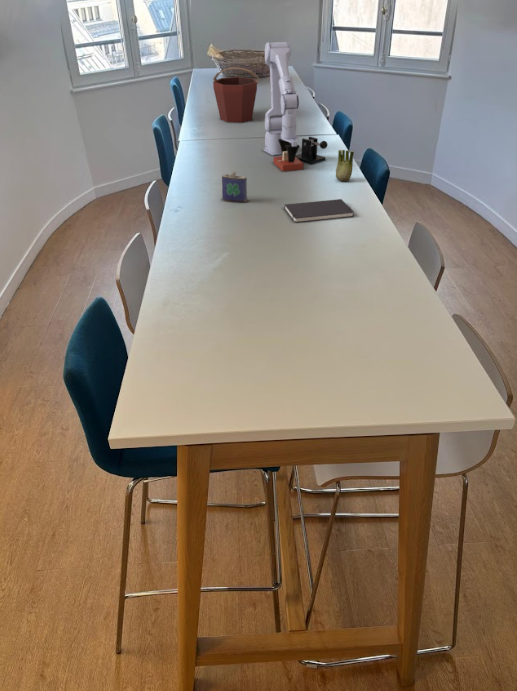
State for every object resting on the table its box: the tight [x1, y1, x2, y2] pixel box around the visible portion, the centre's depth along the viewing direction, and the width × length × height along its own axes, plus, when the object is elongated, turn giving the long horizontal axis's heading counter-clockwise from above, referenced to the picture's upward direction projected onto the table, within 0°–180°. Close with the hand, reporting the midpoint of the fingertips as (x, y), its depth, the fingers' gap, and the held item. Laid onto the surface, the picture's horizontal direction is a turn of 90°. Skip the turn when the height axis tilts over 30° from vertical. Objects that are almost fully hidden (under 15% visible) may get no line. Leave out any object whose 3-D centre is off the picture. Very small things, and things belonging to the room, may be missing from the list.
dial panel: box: [272, 155, 304, 172], centre depth 240 cm, size 12×9×3 cm
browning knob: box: [283, 151, 288, 161], centre depth 239 cm, size 5×2×4 cm, turn 107°
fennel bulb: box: [335, 149, 355, 182], centre depth 223 cm, size 6×5×12 cm
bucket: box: [212, 66, 261, 124], centre depth 298 cm, size 24×22×25 cm
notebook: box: [284, 198, 354, 223], centre depth 199 cm, size 13×2×21 cm
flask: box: [221, 170, 248, 203], centre depth 206 cm, size 9×3×11 cm, turn 74°
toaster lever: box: [307, 138, 328, 150], centre depth 242 cm, size 11×3×3 cm, turn 43°
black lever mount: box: [295, 136, 326, 165], centre depth 246 cm, size 11×9×9 cm
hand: (288, 159), depth 240 cm, fingers open, 7 cm apart
